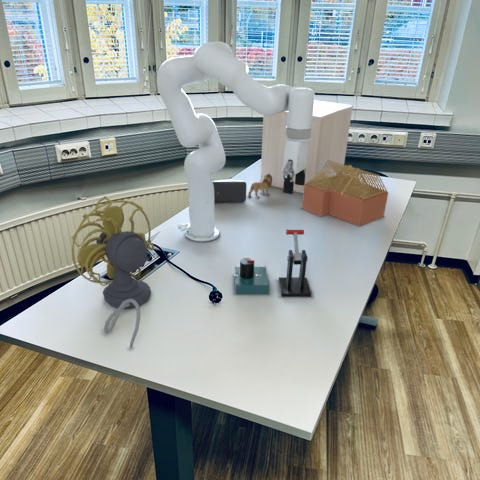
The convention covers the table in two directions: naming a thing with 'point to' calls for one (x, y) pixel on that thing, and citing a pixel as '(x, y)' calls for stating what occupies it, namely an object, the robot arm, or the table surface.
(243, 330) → the table surface
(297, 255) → the toaster lever
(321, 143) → the cabinet
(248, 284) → the dial panel
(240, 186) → the leaning round-cornered charcoal block
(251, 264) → the knob
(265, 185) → the lion figurine
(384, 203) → the house
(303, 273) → the black upright frame
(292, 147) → the robot arm
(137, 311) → the electric fan
